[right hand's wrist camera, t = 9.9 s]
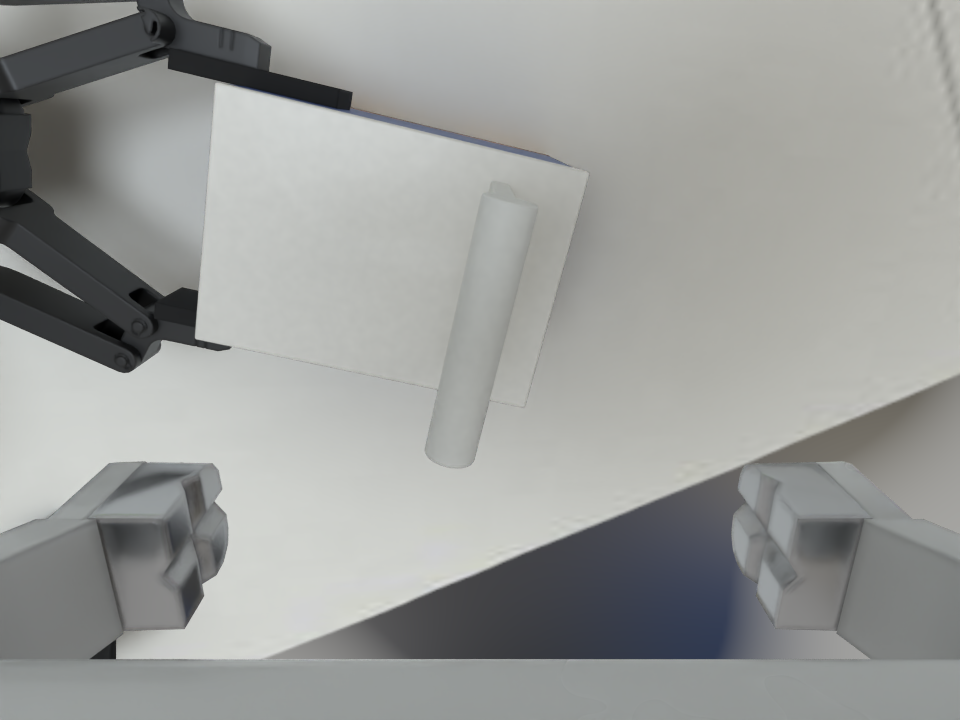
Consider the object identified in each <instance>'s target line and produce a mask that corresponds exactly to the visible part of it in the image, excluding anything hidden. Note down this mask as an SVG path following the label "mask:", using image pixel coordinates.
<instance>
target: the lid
mask: <svg viewBox="0 0 960 720" xmlns="http://www.w3.org/2000/svg"><path fill="white" fill-rule="evenodd" d="M588 179H589V172H587V171H585V170H581V169H577V168H573V167H569V166H565V165H561V164H556V163H552V162H548V161H544V160H540V159H536V158H532V157H527V156H523V155H519V154H515V153H511V152H507V151H503V150H498V149H494V148H490V147H486V146H482V145H478V144H474V143H470V142H465V141H461V140H457V139H453V138H449V137H445V136H441V135H436V134H432V133H428V132H424V131H420V130H416V129H412V128H407V127H403V126H399V125H395V124H391V123H387V122H383V121H378V120H374V119H370V118H366V117H362V116H358V115H354V114H350V113H345V112H341V111H337V110H333V109H329V108H325V107H321V106H316V105H312V104H308V103H304V102H300V101H296V100H292V99H287V98H283V97H279V96H275V95H271V94H267V93H263V92H259V91H254V90H250V89H246V88H242V87H238V86H234V85H230V84H225V83H218V82H217V83H215V89H214V102H213V114H212V127H211V140H210V152H209V165H208V177H207V190H206V203H205V215H204V228H203V240H202V253H201V266H200V278H199V291H198V304H197V316H196V329H195V339H197V340H202V341H207V342H212V343H216V344H221V345H226V346H231V347H236V348H240V349H245V350H250V351H255V352H259V353H264V354H269V355H274V356H279V357H283V358H288V359H293V360H298V361H302V362H307V363H312V364H317V365H322V366H326V367H331V368H336V369H341V370H346V371H350V372H355V373H360V374H365V375H369V376H374V377H379V378H384V379H389V380H393V381H398V382H403V383H408V384H412V385H417V386H422V387H427V388H432V389H436V390H438V392H437V397H436V401H435V405H434V410H433V414H432V419H431V423H430V428H429V432H428V437H427V441H426V446H425V453H426V455H427V457H428V458H429V459H430V460H432V461H433V462H435V463H437V464H439V465H441V466H445V467H449V468H465V467H468V466H470V465H471V464H472V463H473V462H474V459H475V455H476V451H477V448H478V444H479V440H480V436H481V432H482V428H483V424H484V420H485V416H486V412H487V408H488V405H489V401H494V402H498V403H503V404H508V405H513V406H518V407H522V408H524V407H525V405H526V402H527V398H528V395H529V391H530V387H531V384H532V380H533V377H534V373H535V369H536V366H537V362H538V359H539V355H540V351H541V348H542V344H543V341H544V337H545V333H546V330H547V326H548V323H549V319H550V315H551V312H552V308H553V305H554V301H555V297H556V294H557V290H558V287H559V283H560V279H561V276H562V272H563V269H564V265H565V261H566V258H567V254H568V251H569V247H570V243H571V240H572V236H573V233H574V229H575V225H576V222H577V218H578V215H579V211H580V207H581V204H582V200H583V197H584V193H585V189H586V186H587V182H588Z"/></svg>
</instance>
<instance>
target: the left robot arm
mask: <svg viewBox="0 0 960 720" xmlns="http://www.w3.org/2000/svg"><path fill="white" fill-rule="evenodd" d="M136 1H137V4H138V7H137V9H138V10H139V12H140V13H137V14H133V15H130V16H127V17H124V18H121V19H118V20H115V21H112V22H109V23H106V24H103V25H100V26H97V27H94V28H91V29H88V30H85V31H82V32H79V33H76V34H73V35H69V36H66V37H63V38H60V39H57V40H54V41H51V42H48V43H45V44H42V45H39V46H36V47H33V48H30V49H27V50H24V51H21V52H18V53H15V54H12V55H9V56H5V57H2V58H0V243H1V244H4V245H6V246H7V247H9V248H10V249H12V250H13V251H15V252H16V253H17V254H19V255H20V256H21V257H23V258H24V259H26V260H27V261H28V262H30V263H31V264H33V265H34V266H35V267H37V268H38V269H40V270H41V271H42V272H44V273H45V274H47V275H48V276H49V277H51V278H52V279H54V280H55V281H56V282H58V283H59V284H61V285H62V286H63V287H65V288H66V289H68V290H69V291H70V292H72V293H73V294H75V295H76V296H77V297H79V298H80V299H81V300H83V301H84V302H83V301H81V300H79V299H77V298H75V297H72V296H70V295H68V294H66V293H64V292H62V291H59V290H57V289H55V288H53V287H51V286H48V285H46V284H44V283H42V282H40V281H37V280H35V279H33V278H31V277H29V276H26V275H24V274H22V273H20V272H17V271H15V270H12V269H10V268H7V267H3V266H0V319H1V320H3V321H5V322H7V323H10V324H12V325H14V326H16V327H19V328H21V329H23V330H26V331H28V332H30V333H32V334H35V335H37V336H39V337H41V338H44V339H46V340H48V341H50V342H53V343H55V344H57V345H59V346H62V347H64V348H66V349H69V350H71V351H73V352H75V353H78V354H80V355H82V356H84V357H87V358H89V359H91V360H93V361H96V362H98V363H100V364H103V365H105V366H107V367H109V368H112V369H114V370H116V371H118V372H122V373H128V372H131V371H132V370H134V369H135V368H137V367H138V366H140V365H141V364H142V363H144V362H145V361H147V360H148V359H149V358H151V357H152V356H154V355H155V354H156V353H158V352H159V350H160V349H161V341H162V340H168V341H172V342H177V343H182V344H187V345H191V346H197V347H201V348H206V349H210V350H215V351H222V350H228V349H230V348H231V346H226V345H221V344H216V343H212V342H207V341H202V340H197V339H195V329H196V316H197V304H198V291H196V290H192V289H187V288H180V289H178V290H177V291H175V292H173V293H171V294H169V295H167V296H166V297H164V296H163V295H161V294H160V293H159V292H157V291H156V290H154V289H153V288H152V287H150V286H149V285H148V284H146V283H145V282H144V281H142V280H141V279H140V278H138V277H137V276H136V275H134V274H133V273H132V272H130V271H129V270H128V269H126V268H125V267H124V266H122V265H121V264H119V263H118V262H117V261H115V260H114V259H113V258H111V257H110V256H109V255H107V254H106V253H105V252H103V251H102V250H101V249H99V248H98V247H97V246H95V245H94V244H93V243H91V242H90V241H88V240H87V239H86V238H84V237H83V236H82V235H80V234H79V233H78V232H76V231H75V230H74V229H72V228H71V227H70V226H68V225H67V224H66V223H64V222H63V221H62V220H60V219H59V218H58V217H56V216H55V215H54V210H53V208H52V207H51V206H50V205H49V204H47V203H46V202H45V201H43V200H42V199H41V198H39V197H38V196H37V195H35V194H34V193H33V192H31V191H30V190H29V189H28V188H32V170H31V166H30V162H29V159H28V155H27V147H28V143H29V139H30V136H31V115H30V114H26V113H24V110H23V107H24V106H27V105H30V104H33V103H36V102H39V101H42V100H46V99H49V98H51V97H53V96H54V94H56V93H59V92H62V91H65V90H68V89H71V88H74V87H77V86H81V85H84V84H87V83H90V82H93V81H96V80H99V79H102V78H106V77H109V76H112V75H115V74H118V73H121V72H124V71H127V70H131V69H134V68H137V67H140V66H143V65H146V64H149V63H152V62H156V61H159V60H162V59H165V58H168V57H169V58H168V69H172V70H176V71H180V72H184V73H188V74H192V75H196V76H201V77H205V78H209V79H213V80H217V81H221V82H226V83H230V84H234V85H238V86H244V87H249V88H253V89H257V90H261V91H265V92H270V93H274V94H278V95H282V96H286V97H290V98H294V99H298V100H303V101H307V102H311V103H315V104H319V105H323V106H327V107H332V108H336V109H343V110H350V107H351V100H352V94H353V92H350V91H346V90H342V89H338V88H334V87H329V86H325V85H321V84H317V83H313V82H309V81H305V80H301V79H297V78H293V77H288V76H284V75H280V74H276V73H272V72H269V65H270V55H271V46H270V45H268V44H267V43H265V42H264V41H263V40H261V39H260V38H257V37H255V36H252V35H250V34H247V33H243V32H239V31H235V30H231V29H227V28H222V27H219V26H215V25H210V24H206V23H202V22H198V21H195V20H193V19H192V18H191V17H190V16H189V15H188V13H187V11H186V9H185V7H184V4H183V0H0V5H11V6H19V5H48V4H77V3H107V2H136Z"/></svg>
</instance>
